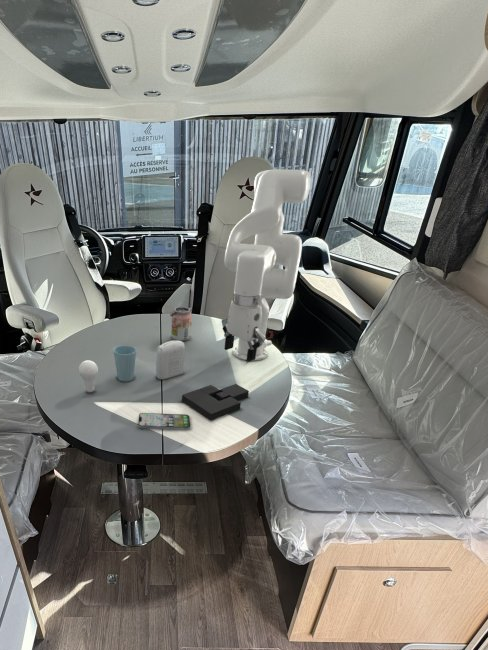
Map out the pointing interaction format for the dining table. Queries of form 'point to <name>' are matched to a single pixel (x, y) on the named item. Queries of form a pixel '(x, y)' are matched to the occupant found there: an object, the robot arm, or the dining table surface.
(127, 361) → the cup
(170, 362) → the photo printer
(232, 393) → the tab pad
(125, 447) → the dining table surface
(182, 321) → the beverage can
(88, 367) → the lightbulb
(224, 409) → the base pad
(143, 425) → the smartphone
